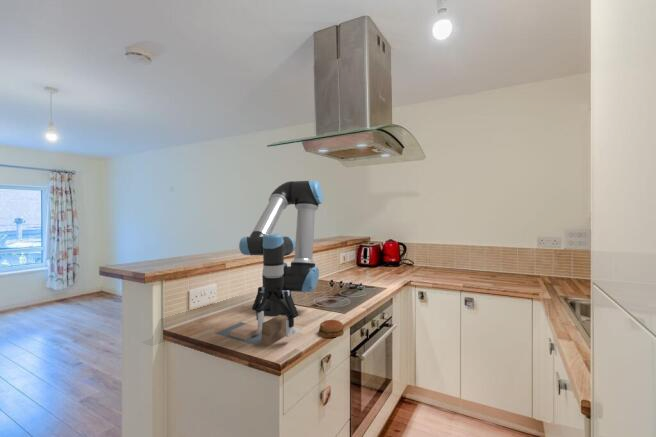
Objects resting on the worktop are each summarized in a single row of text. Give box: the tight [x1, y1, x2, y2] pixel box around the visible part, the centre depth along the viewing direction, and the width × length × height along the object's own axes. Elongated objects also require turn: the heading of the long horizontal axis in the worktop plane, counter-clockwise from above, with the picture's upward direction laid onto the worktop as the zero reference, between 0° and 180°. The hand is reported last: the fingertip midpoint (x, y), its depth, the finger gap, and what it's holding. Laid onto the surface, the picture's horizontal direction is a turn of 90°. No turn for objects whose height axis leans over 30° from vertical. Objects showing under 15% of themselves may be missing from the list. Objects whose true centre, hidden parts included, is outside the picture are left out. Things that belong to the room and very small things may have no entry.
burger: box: [318, 319, 344, 339], centre depth 122 cm, size 10×9×5 cm
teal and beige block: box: [230, 323, 262, 340], centre depth 120 cm, size 2×8×9 cm
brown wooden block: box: [260, 315, 302, 347], centre depth 118 cm, size 18×6×8 cm, turn 150°
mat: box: [214, 321, 262, 345], centre depth 122 cm, size 22×14×1 cm, turn 60°
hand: (274, 332), depth 115 cm, fingers open, 13 cm apart
